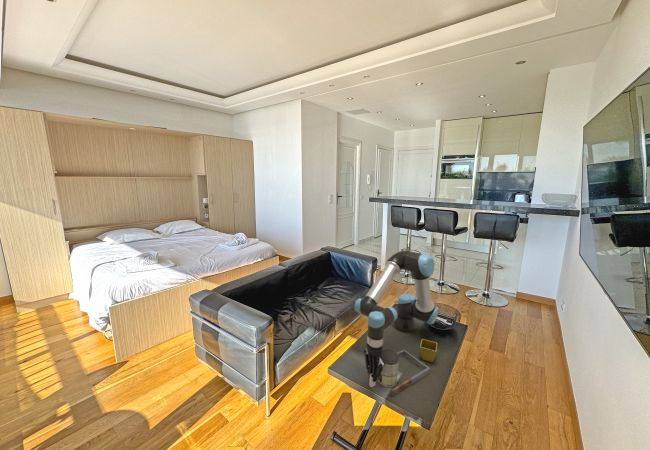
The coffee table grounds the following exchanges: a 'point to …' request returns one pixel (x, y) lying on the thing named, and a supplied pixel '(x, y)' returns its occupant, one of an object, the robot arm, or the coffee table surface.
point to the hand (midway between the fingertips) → (372, 385)
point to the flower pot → (428, 350)
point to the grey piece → (425, 368)
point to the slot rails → (399, 386)
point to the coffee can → (389, 368)
